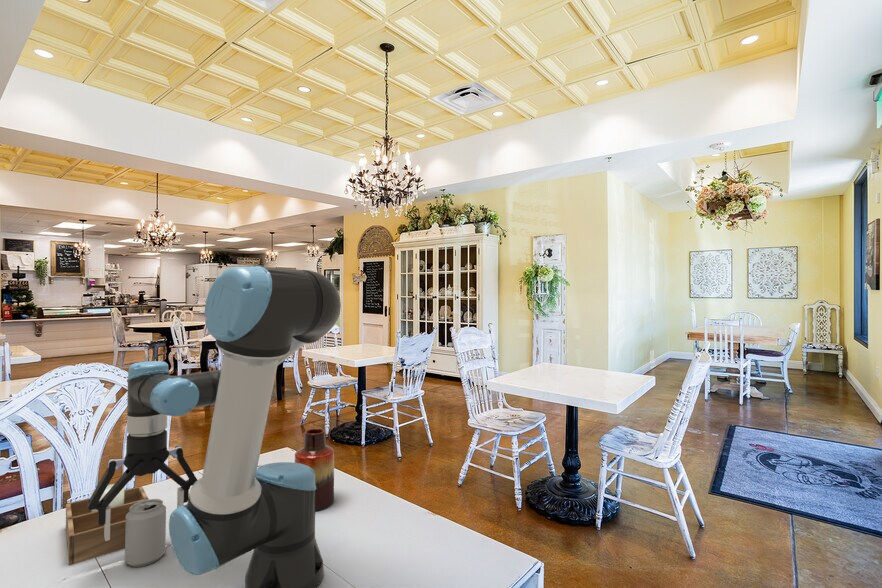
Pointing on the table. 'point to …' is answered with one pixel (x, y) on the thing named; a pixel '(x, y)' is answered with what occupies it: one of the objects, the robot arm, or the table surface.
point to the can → (145, 532)
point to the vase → (319, 466)
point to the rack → (97, 527)
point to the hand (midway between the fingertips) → (145, 527)
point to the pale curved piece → (117, 500)
